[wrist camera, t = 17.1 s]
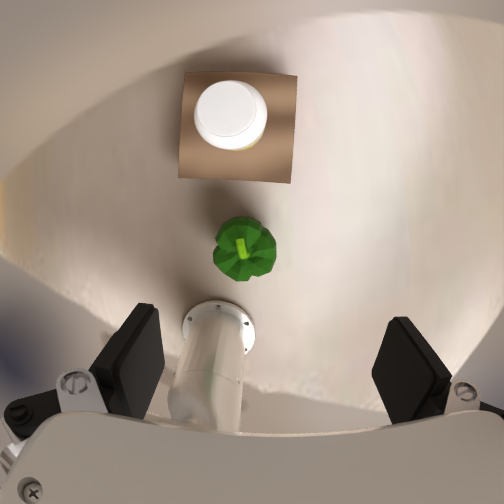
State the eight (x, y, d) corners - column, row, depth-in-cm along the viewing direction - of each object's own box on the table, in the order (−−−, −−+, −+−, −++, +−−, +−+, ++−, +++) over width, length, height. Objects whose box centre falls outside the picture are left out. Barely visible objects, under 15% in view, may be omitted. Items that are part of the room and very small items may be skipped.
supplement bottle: (205, 107, 31) (176, 81, 19) (257, 94, 31) (257, 60, 19) (217, 157, 33) (194, 157, 21) (270, 145, 33) (277, 137, 21)
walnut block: (285, 180, 40) (290, 183, 34) (189, 175, 40) (178, 178, 34) (292, 87, 35) (297, 75, 30) (195, 83, 35) (185, 72, 30)
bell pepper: (268, 268, 44) (270, 299, 35) (215, 258, 44) (204, 286, 35) (280, 216, 42) (286, 234, 32) (225, 205, 41) (215, 219, 32)
